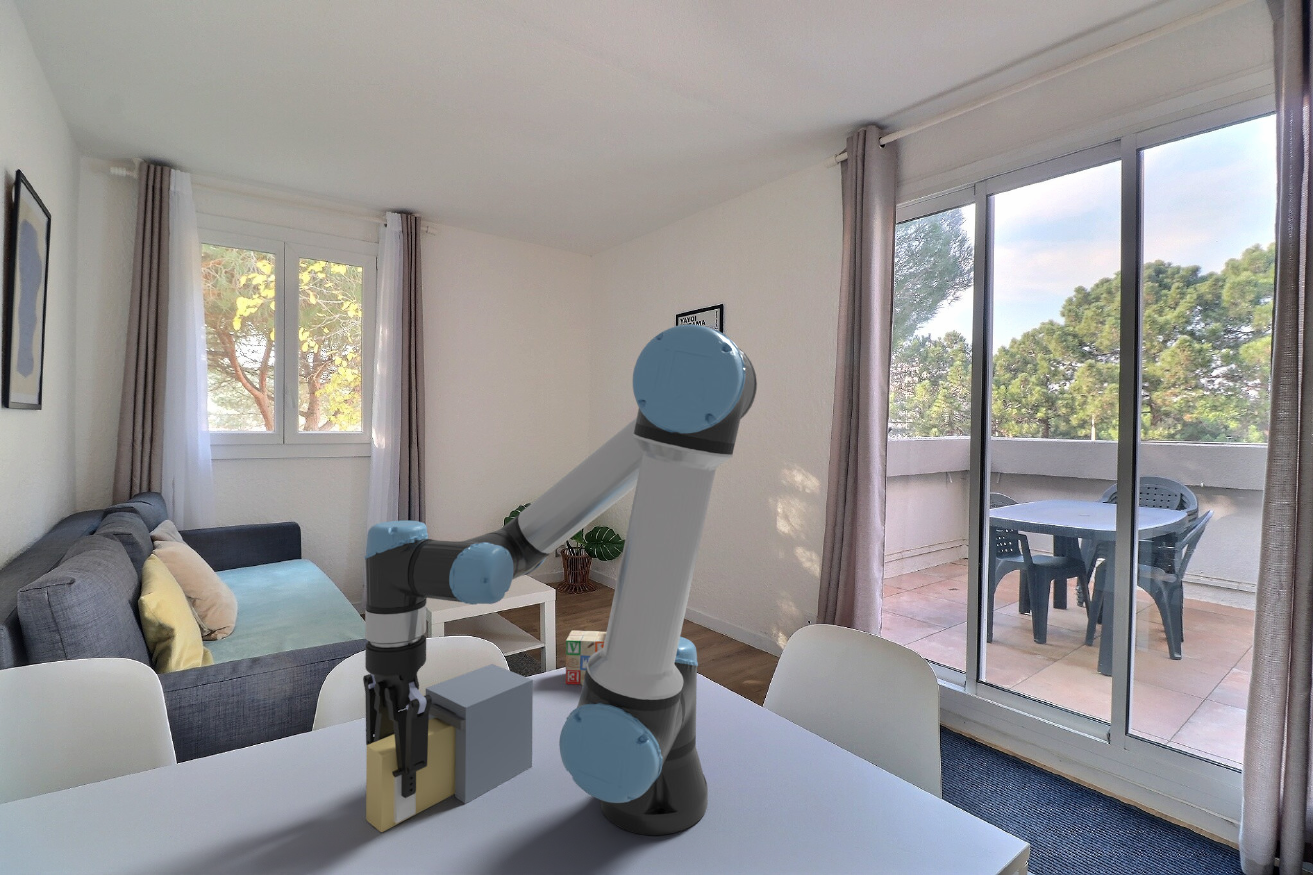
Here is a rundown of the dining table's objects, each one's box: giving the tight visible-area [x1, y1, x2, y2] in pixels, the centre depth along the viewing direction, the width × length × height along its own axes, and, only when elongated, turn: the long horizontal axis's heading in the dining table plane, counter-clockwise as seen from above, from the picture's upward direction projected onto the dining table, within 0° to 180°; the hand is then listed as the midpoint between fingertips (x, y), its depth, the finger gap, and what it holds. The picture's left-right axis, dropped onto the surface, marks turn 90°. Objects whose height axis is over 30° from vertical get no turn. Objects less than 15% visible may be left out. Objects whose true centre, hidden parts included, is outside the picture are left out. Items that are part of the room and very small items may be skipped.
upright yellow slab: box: [365, 711, 456, 833], centre depth 85 cm, size 4×14×10 cm, turn 142°
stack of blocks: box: [565, 630, 607, 686], centre depth 127 cm, size 21×6×12 cm, turn 86°
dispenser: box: [425, 663, 534, 805], centre depth 92 cm, size 10×13×14 cm
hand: (395, 809), depth 82 cm, fingers closed on upright yellow slab, 4 cm apart
